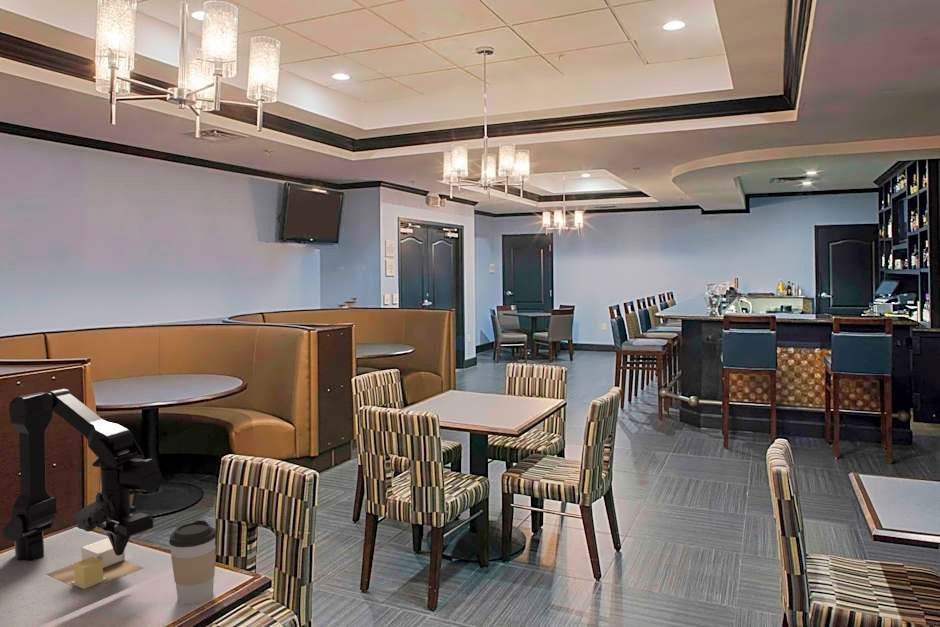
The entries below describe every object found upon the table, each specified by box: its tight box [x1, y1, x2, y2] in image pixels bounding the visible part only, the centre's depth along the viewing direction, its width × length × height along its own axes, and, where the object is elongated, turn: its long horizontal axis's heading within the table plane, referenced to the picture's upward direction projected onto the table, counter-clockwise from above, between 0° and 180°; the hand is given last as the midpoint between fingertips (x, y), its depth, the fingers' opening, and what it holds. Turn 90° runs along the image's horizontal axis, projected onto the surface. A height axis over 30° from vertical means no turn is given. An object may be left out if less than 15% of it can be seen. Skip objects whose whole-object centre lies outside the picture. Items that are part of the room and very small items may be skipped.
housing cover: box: [81, 537, 126, 568], centre depth 153 cm, size 7×6×4 cm
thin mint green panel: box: [71, 577, 107, 589], centre depth 144 cm, size 5×5×1 cm
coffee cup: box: [168, 519, 217, 605], centre depth 138 cm, size 9×9×15 cm
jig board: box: [46, 560, 144, 593], centre depth 149 cm, size 16×13×3 cm
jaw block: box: [73, 557, 104, 586], centre depth 144 cm, size 4×4×4 cm
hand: (119, 554), depth 148 cm, fingers closed
